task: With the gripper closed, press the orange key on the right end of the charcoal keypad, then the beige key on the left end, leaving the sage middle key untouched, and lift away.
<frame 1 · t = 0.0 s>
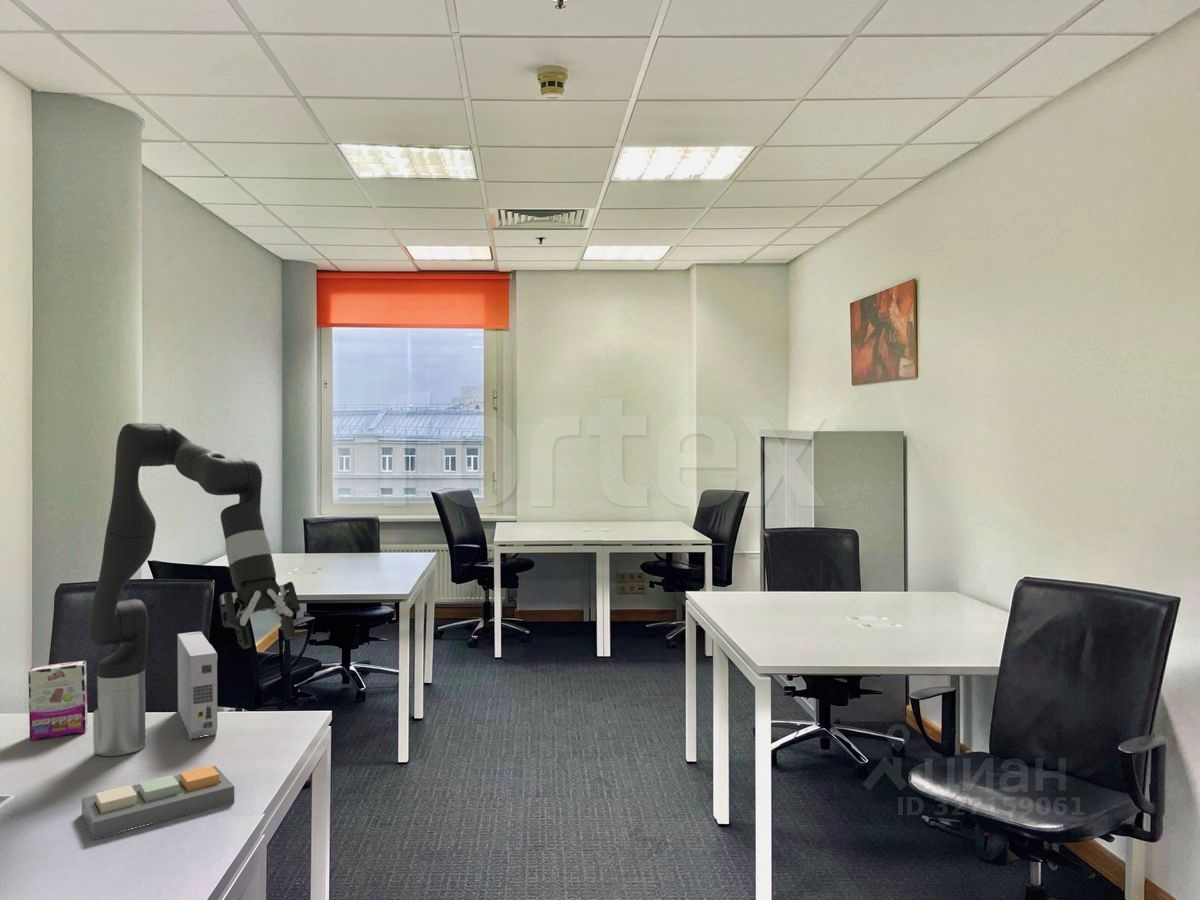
hand: (268, 642, 149), 31 cm above the table, tool tilted 20°, fingers open, 8 cm apart
sage key: (159, 788, 151), point 4 cm above the table, slide at 0.0 cm
candy bar box: (59, 735, 192), on the table
keypad: (159, 807, 151), on the table
orange key: (199, 778, 156), point 4 cm above the table, slide at 0.0 cm
beige key: (116, 799, 147), point 4 cm above the table, slide at 0.0 cm
game console: (197, 724, 198), on the table
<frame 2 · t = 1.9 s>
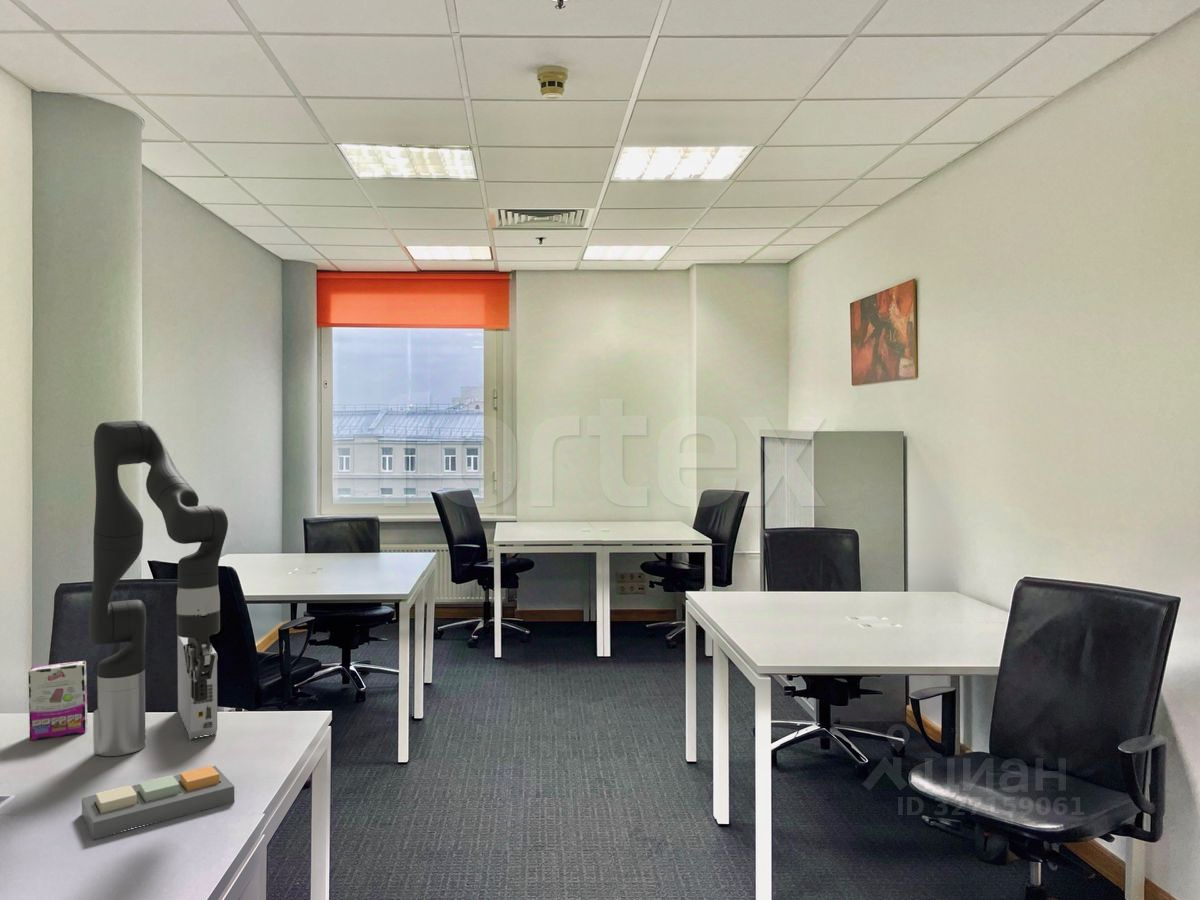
hand: (199, 698, 156), 19 cm above the table, tool pointing down, fingers closed
nothing on the table moved.
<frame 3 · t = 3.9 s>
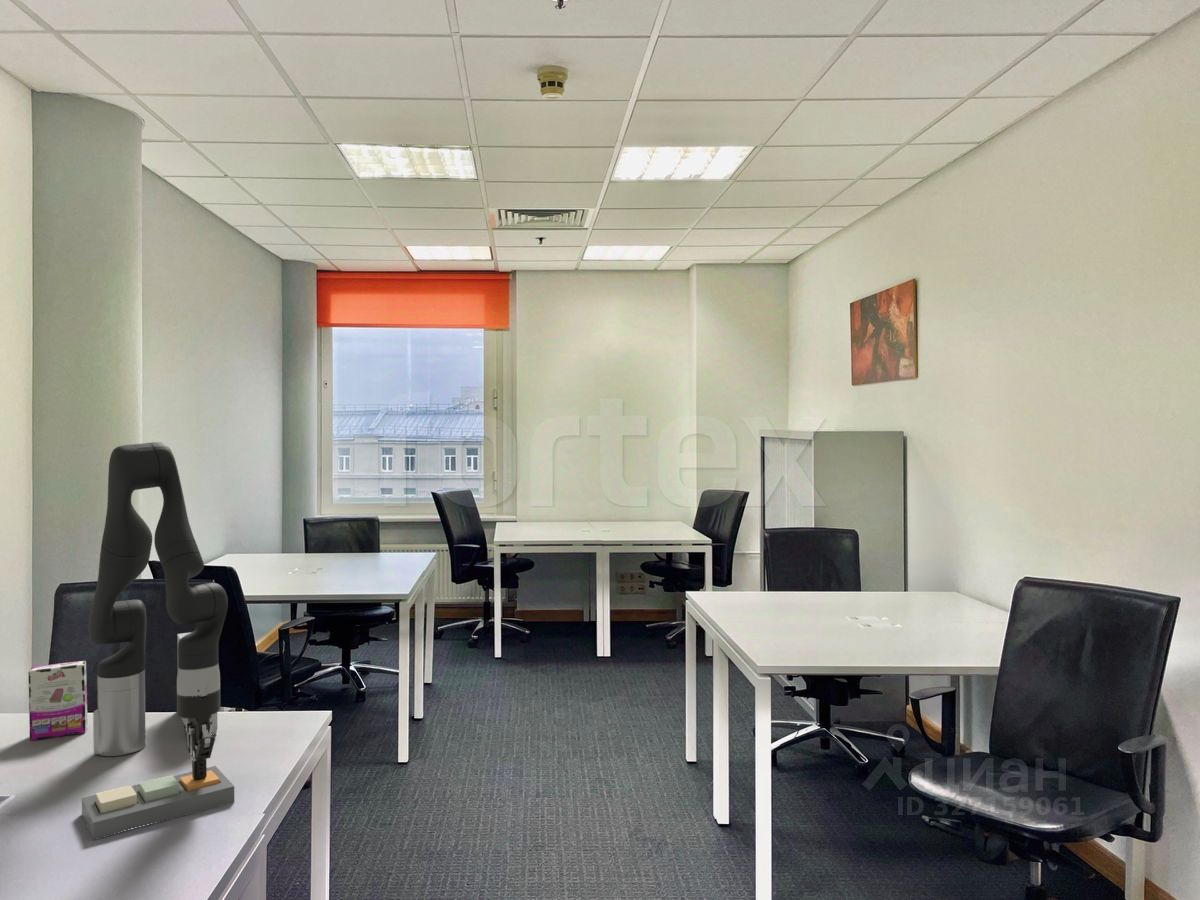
hand: (199, 778, 156), 4 cm above the table, tool pointing down, fingers closed
orange key: (199, 783, 156), point 3 cm above the table, slide at 0.9 cm, touching gripper
everything else where it was.
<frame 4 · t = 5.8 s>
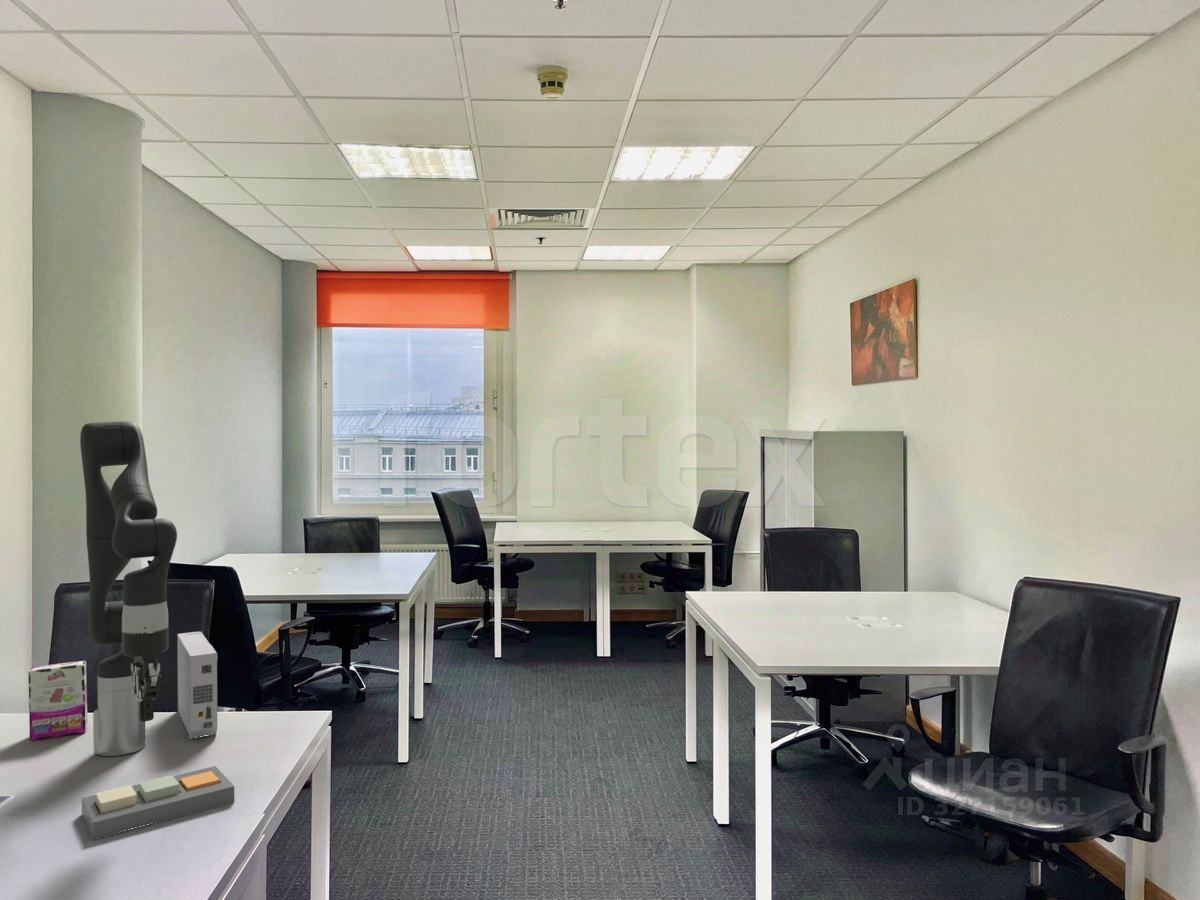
hand: (146, 720, 150), 17 cm above the table, tool pointing down, fingers closed
orange key: (199, 784, 156), point 3 cm above the table, slide at 1.1 cm
everything else where it was.
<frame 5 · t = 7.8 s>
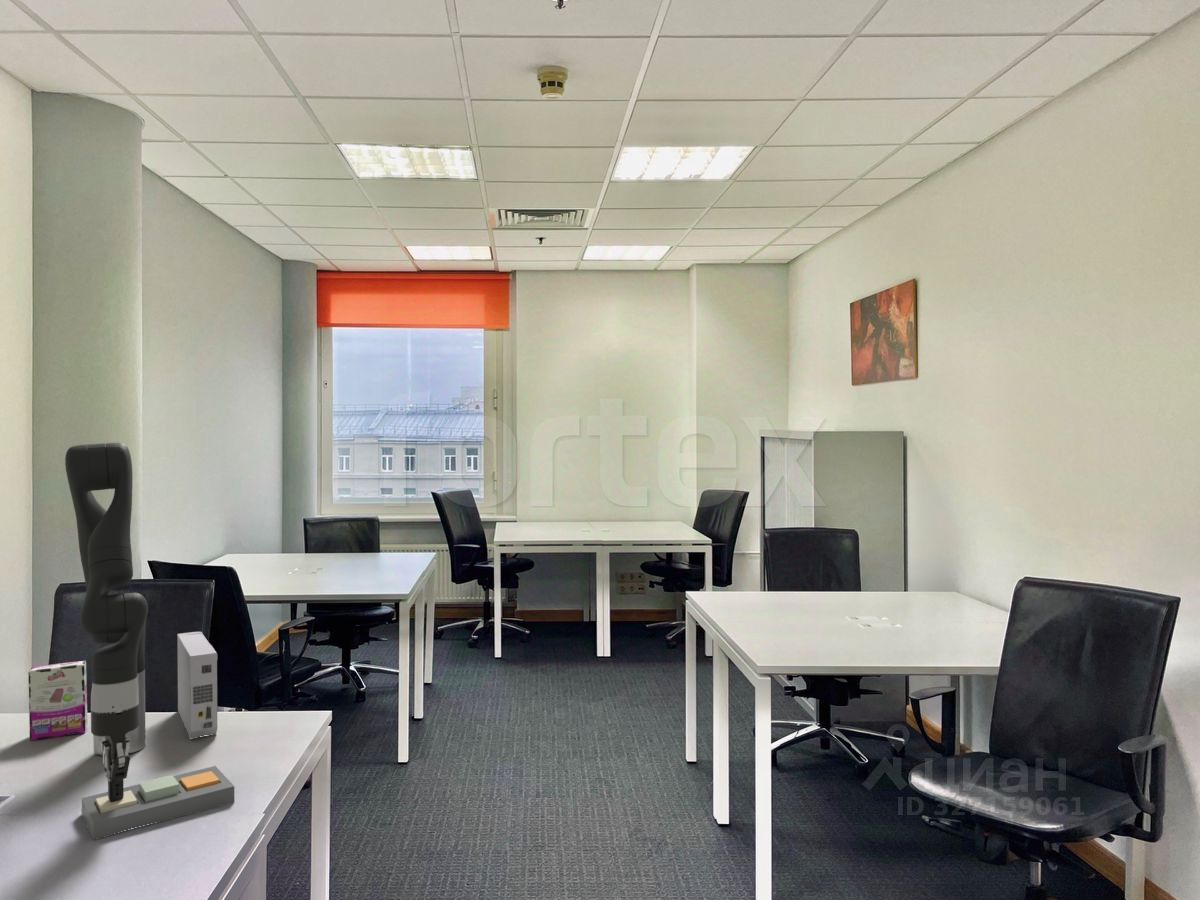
hand: (115, 799, 147), 4 cm above the table, tool pointing down, fingers closed
beige key: (116, 804, 147), point 3 cm above the table, slide at 1.0 cm, touching gripper
everything else where it was.
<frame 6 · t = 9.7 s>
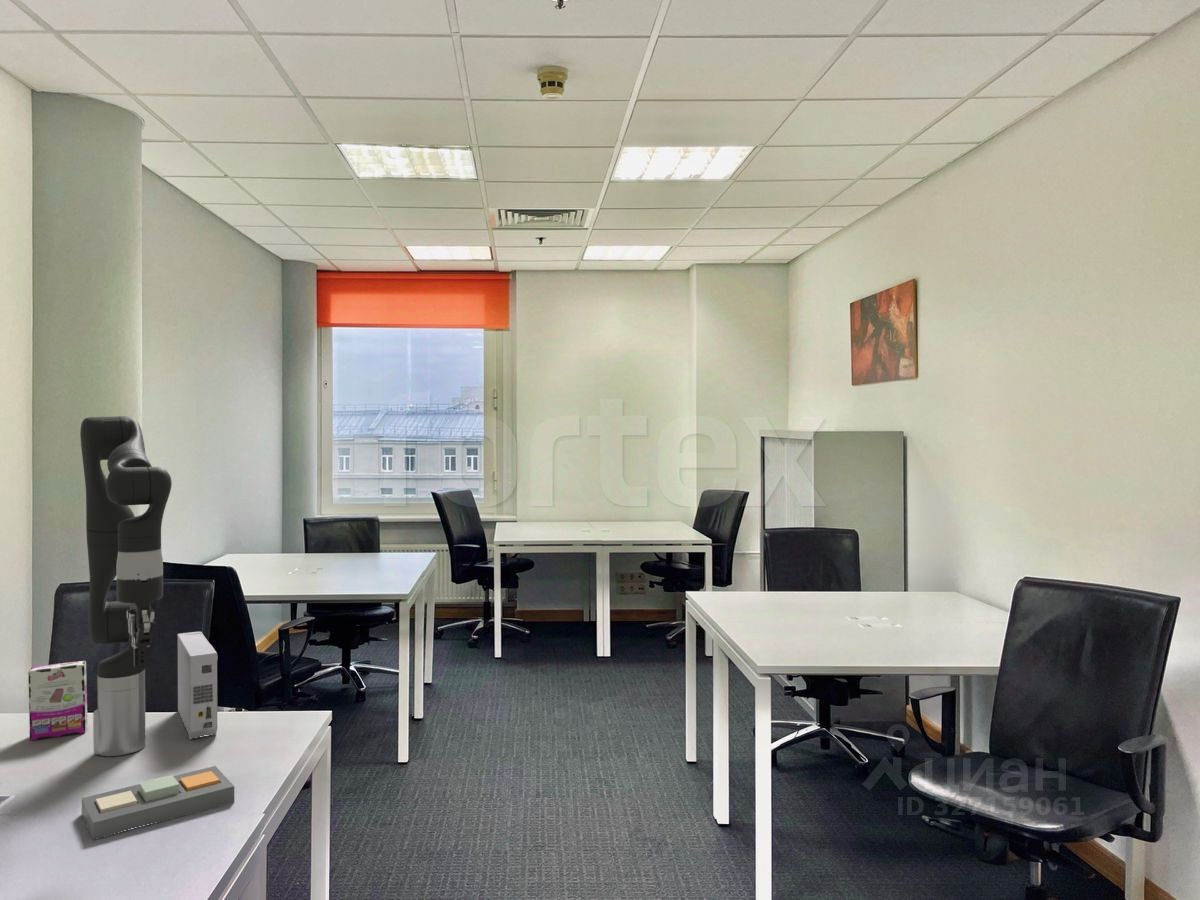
hand: (141, 667, 150), 27 cm above the table, tool pointing down, fingers closed
beige key: (116, 805, 147), point 3 cm above the table, slide at 1.1 cm
everything else where it was.
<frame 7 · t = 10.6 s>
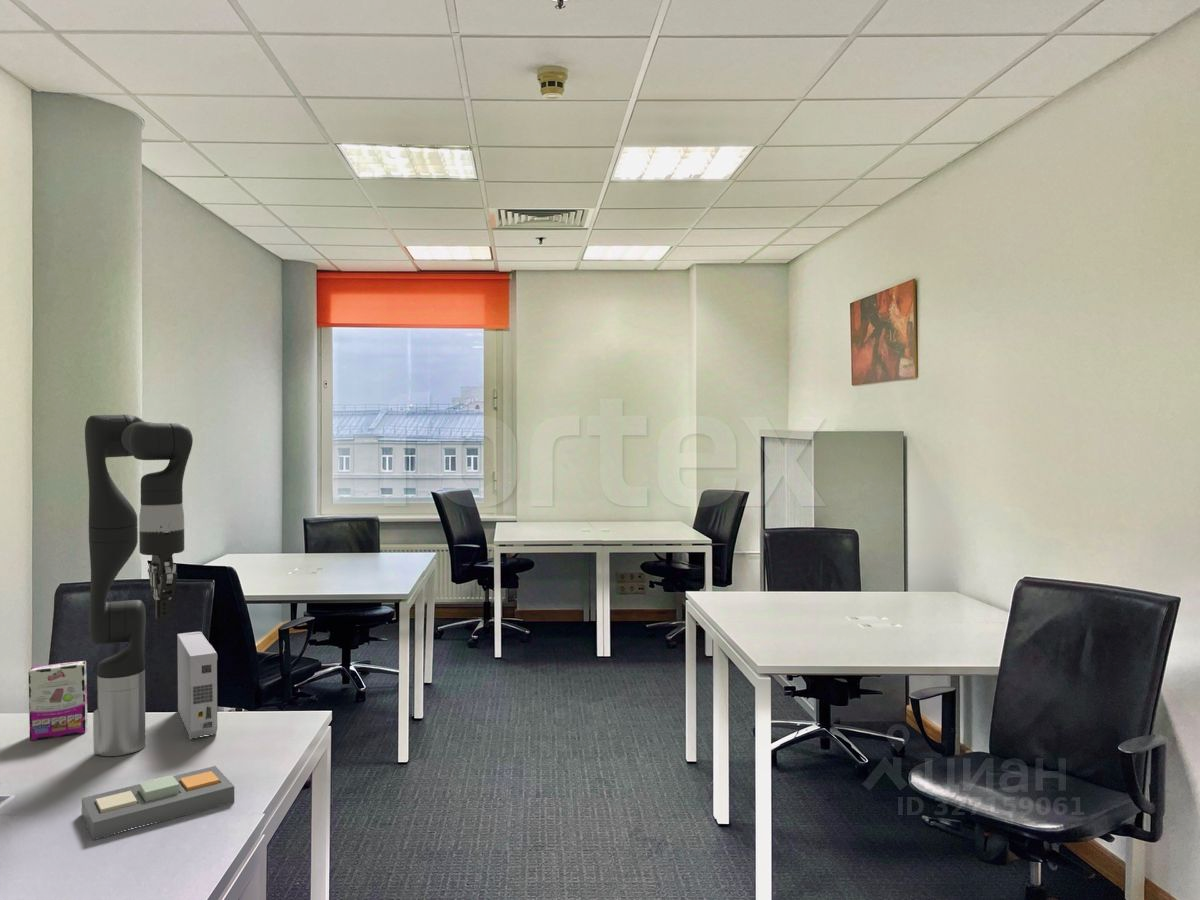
hand: (162, 619, 153), 35 cm above the table, tool pointing down, fingers closed
nothing on the table moved.
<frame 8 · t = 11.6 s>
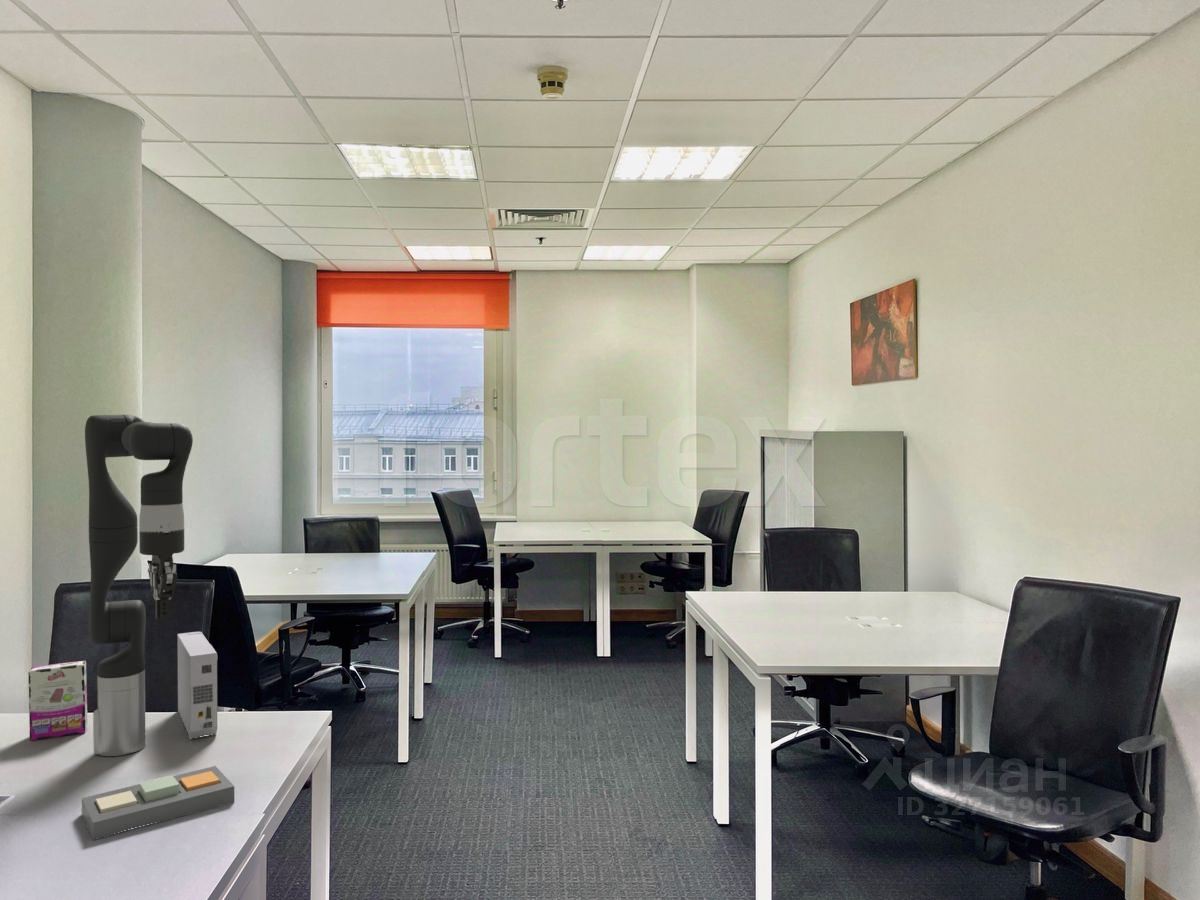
hand: (162, 619, 153), 35 cm above the table, tool pointing down, fingers closed
nothing on the table moved.
at the end: orange key slide at 1.1 cm; beige key slide at 1.1 cm; sage key slide at 0.0 cm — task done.
